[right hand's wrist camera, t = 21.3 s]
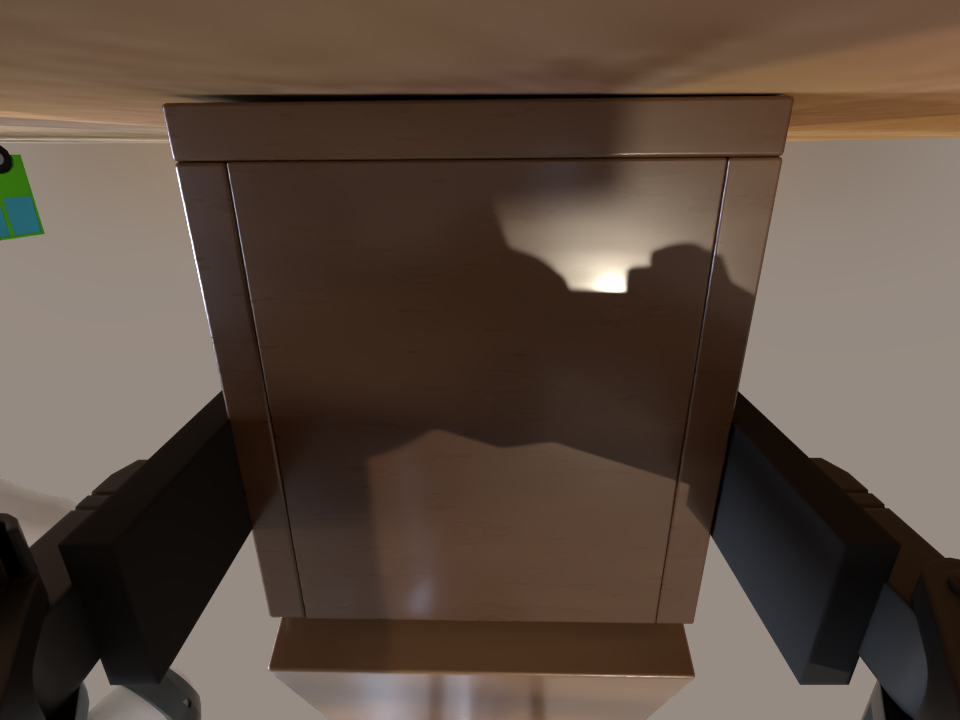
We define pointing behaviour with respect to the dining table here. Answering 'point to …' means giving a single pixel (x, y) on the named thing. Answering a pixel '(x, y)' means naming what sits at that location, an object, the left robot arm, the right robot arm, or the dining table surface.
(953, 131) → the dining table surface
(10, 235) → the toy car
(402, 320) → the chest
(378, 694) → the lid
